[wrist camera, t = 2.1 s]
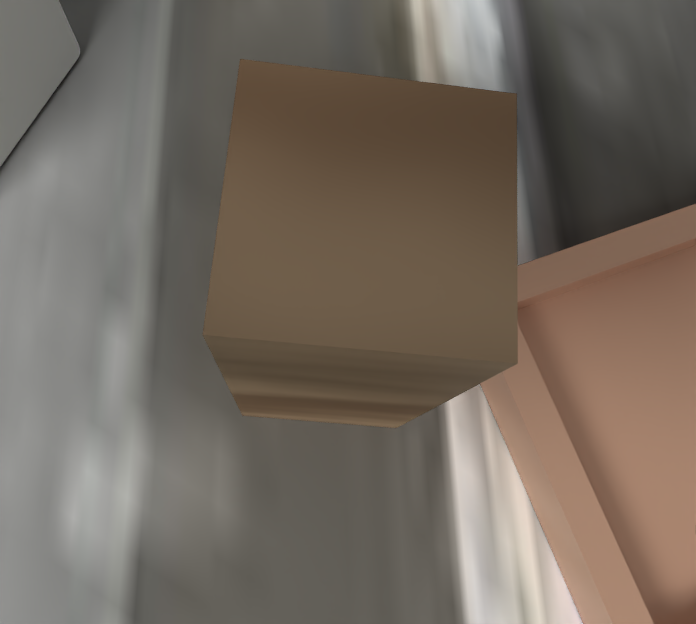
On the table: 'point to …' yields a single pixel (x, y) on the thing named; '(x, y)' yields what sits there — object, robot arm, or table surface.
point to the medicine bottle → (30, 63)
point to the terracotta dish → (611, 417)
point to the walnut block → (363, 245)
